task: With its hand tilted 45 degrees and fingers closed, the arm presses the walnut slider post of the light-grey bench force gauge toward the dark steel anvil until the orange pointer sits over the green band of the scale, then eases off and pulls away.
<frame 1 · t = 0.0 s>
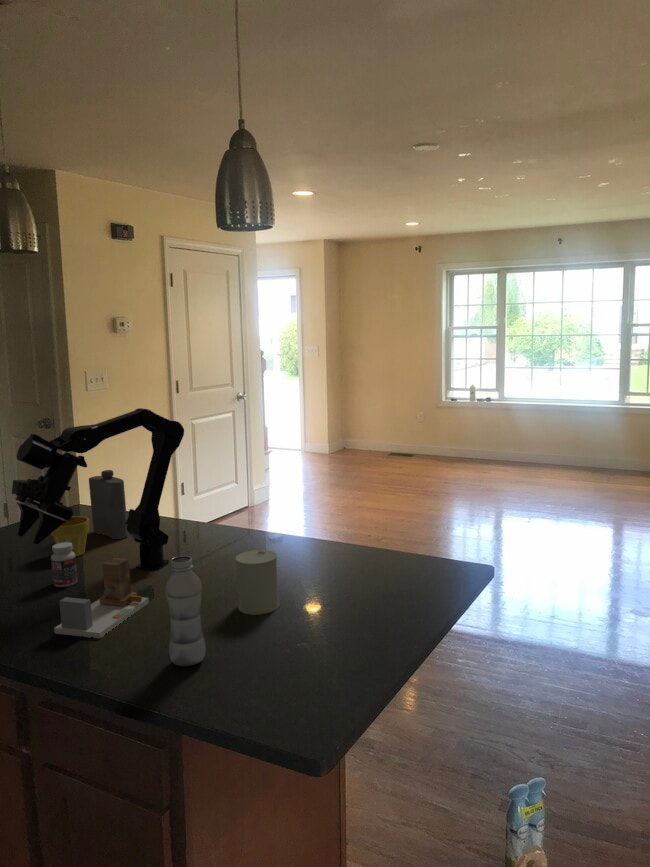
hand: (27, 539, 156), 15 cm above the kitchen island, tool tilted 35°, fingers open, 9 cm apart
plastic bottle: (188, 663, 126), on the kitchen island
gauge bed: (119, 606, 153), on the kitchen island
gauge slider: (119, 583, 151), point 6 cm above the kitchen island, slide at 0.0 cm
can: (258, 607, 151), on the kitchen island
plant pot: (72, 554, 192), on the kitchen island
flask: (112, 535, 210), on the kitchen island
pill bottle: (65, 584, 169), on the kitchen island
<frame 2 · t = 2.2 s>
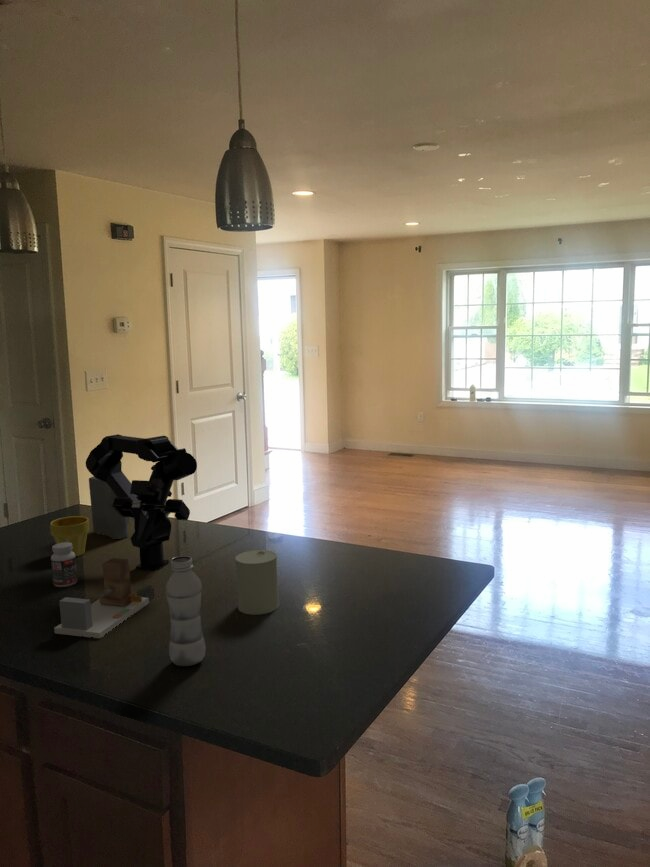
hand: (139, 539, 161), 13 cm above the kitchen island, tool tilted 45°, fingers closed
nothing on the kitchen island moved.
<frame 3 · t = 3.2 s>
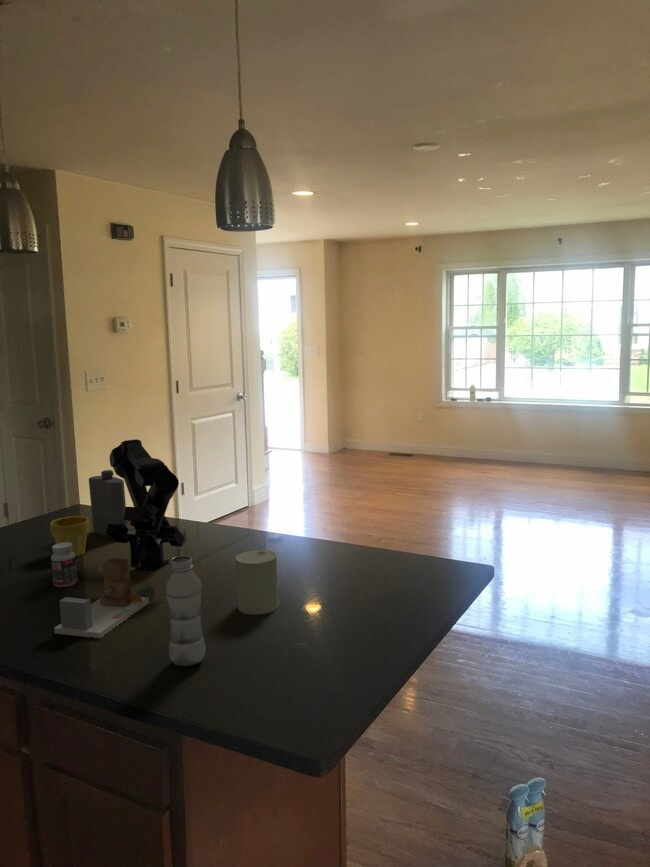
hand: (133, 566, 158), 7 cm above the kitchen island, tool tilted 45°, fingers closed
nothing on the kitchen island moved.
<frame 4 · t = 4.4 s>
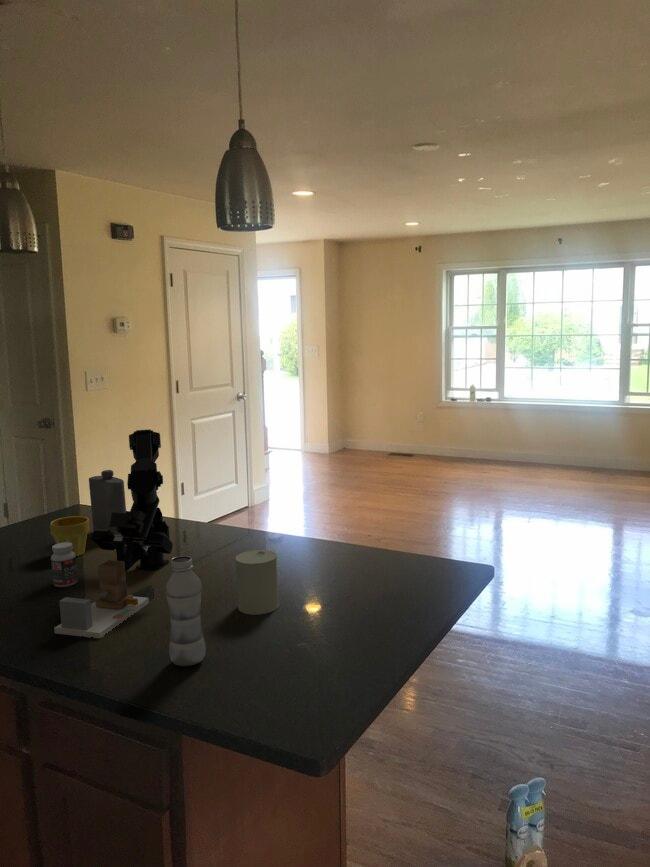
hand: (119, 575, 153), 7 cm above the kitchen island, tool tilted 45°, fingers closed, pressing on gauge slider
gauge slider: (115, 585, 149), point 6 cm above the kitchen island, slide at 1.6 cm, touching gripper
everything else where it was.
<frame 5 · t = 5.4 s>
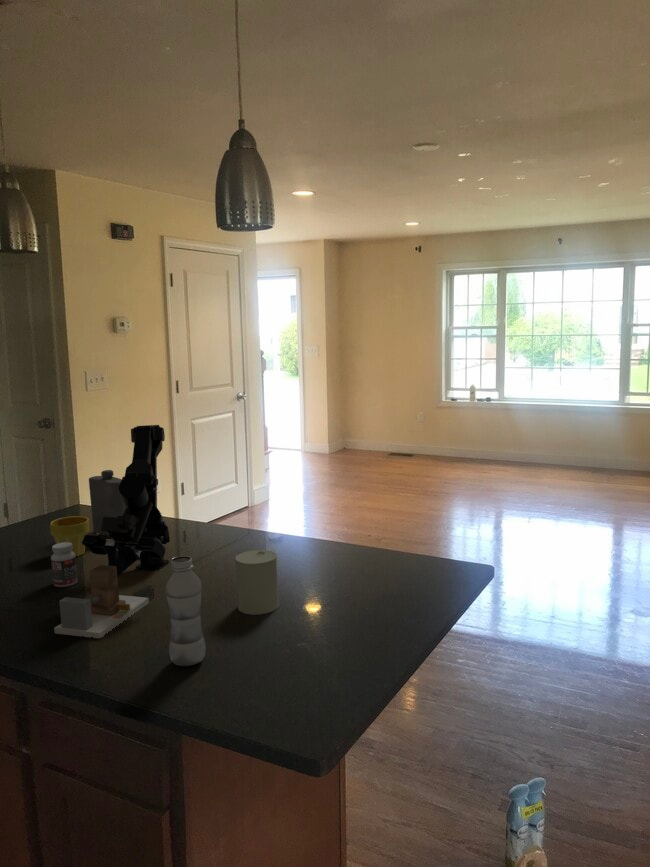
hand: (110, 580, 150), 7 cm above the kitchen island, tool tilted 45°, fingers closed, pressing on gauge slider
gauge slider: (107, 591, 147), point 6 cm above the kitchen island, slide at 4.7 cm, touching gripper
everything else where it was.
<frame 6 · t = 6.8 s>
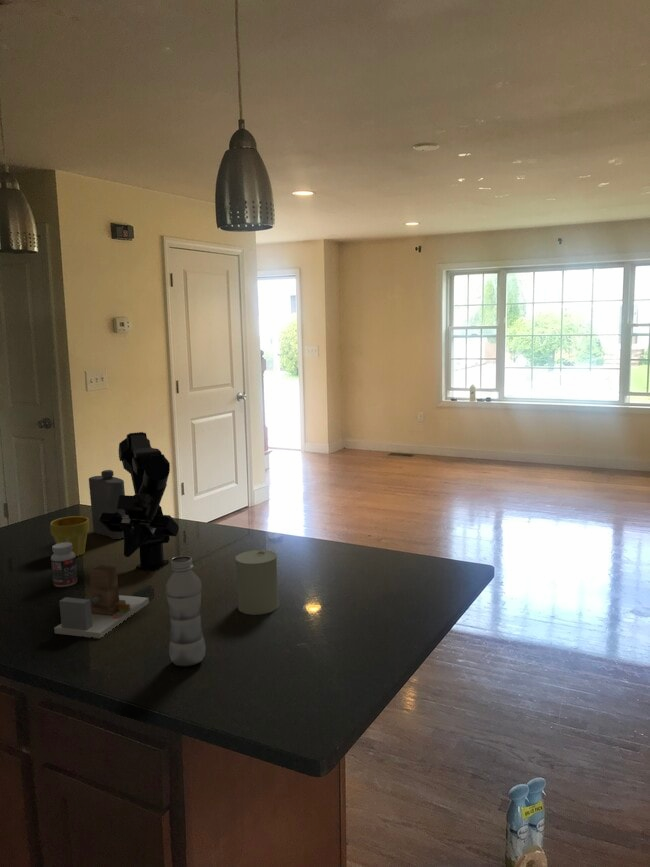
hand: (126, 556, 156), 10 cm above the kitchen island, tool tilted 45°, fingers closed
gauge slider: (107, 591, 147), point 6 cm above the kitchen island, slide at 4.7 cm
everything else where it was.
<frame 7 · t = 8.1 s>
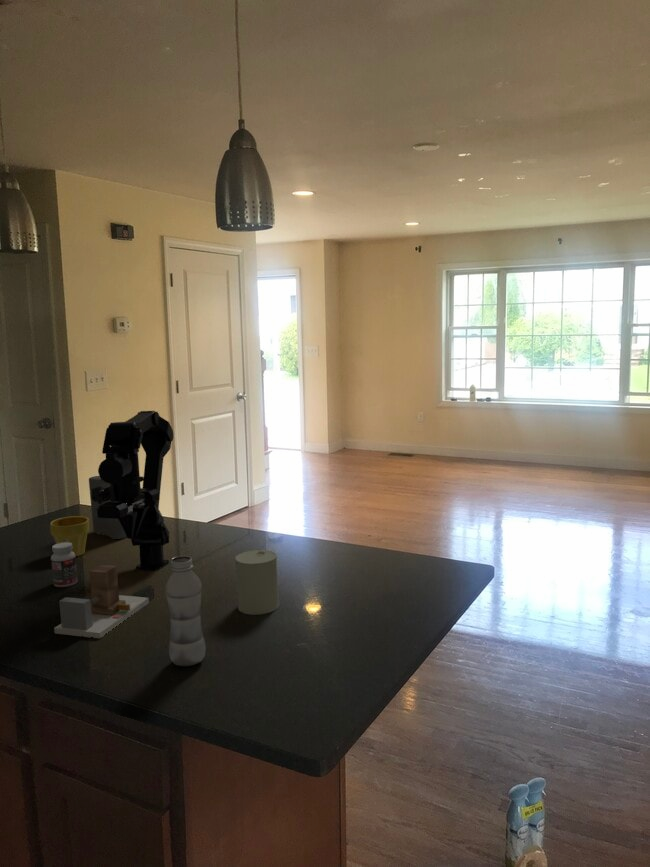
hand: (132, 537, 165), 12 cm above the kitchen island, tool pointing down, fingers closed
nothing on the kitchen island moved.
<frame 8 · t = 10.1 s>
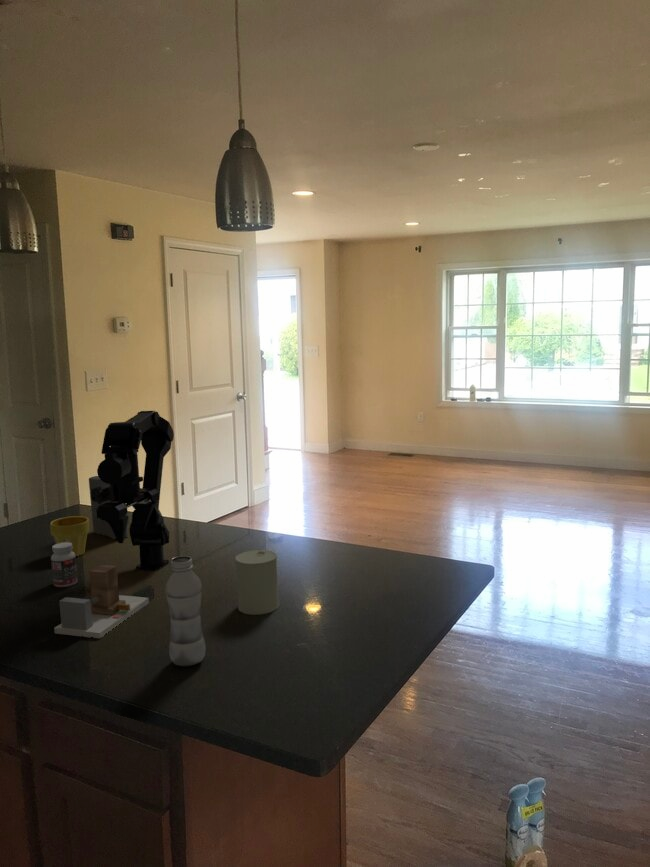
hand: (131, 537, 165), 12 cm above the kitchen island, tool pointing down, fingers open, 9 cm apart
nothing on the kitchen island moved.
at the end: gauge slider slide at 4.7 cm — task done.
